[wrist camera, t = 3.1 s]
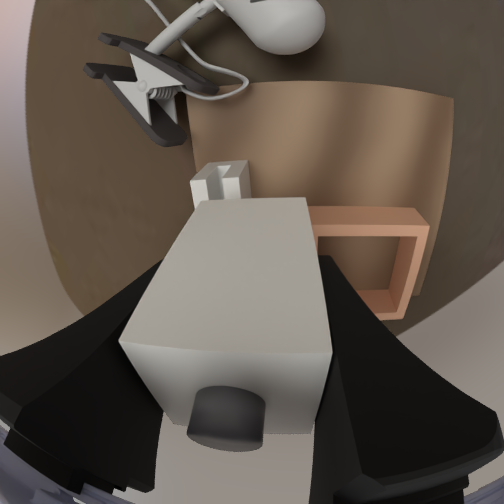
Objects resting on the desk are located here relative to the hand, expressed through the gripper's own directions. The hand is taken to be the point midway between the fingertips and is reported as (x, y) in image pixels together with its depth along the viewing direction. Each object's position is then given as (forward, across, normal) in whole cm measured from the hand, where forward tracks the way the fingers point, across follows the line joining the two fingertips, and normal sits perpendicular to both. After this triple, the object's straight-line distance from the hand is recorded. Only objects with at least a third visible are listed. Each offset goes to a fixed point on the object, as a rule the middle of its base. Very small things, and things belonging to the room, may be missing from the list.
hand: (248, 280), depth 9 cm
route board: (+10, -4, +1) cm, 10 cm away
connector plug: (+3, 0, 0) cm, 3 cm away
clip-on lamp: (+10, +5, -14) cm, 18 cm away
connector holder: (+10, -6, +5) cm, 12 cm away
